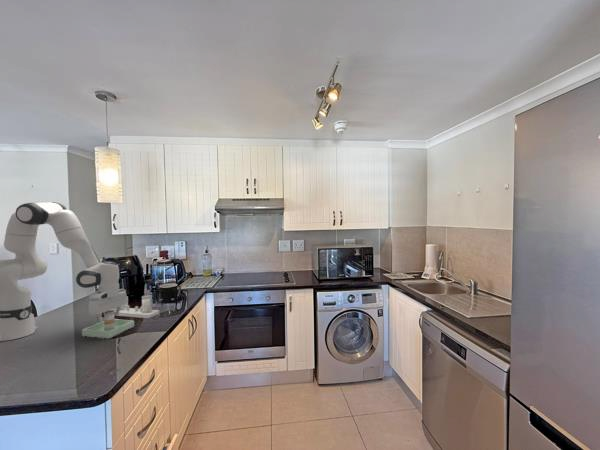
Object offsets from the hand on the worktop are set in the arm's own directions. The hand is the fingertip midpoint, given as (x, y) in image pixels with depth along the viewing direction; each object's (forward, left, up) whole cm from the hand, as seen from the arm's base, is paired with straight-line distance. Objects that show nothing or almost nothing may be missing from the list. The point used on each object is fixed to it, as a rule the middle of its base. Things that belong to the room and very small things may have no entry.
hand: (109, 318), depth 144 cm
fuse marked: (0, 0, -6) cm, 6 cm away
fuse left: (-20, +26, -5) cm, 33 cm away
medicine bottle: (-29, +36, -7) cm, 47 cm away
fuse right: (0, +26, -5) cm, 26 cm away
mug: (-6, +55, -7) cm, 56 cm away
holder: (-10, +26, -7) cm, 29 cm away
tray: (0, 0, -7) cm, 7 cm away
